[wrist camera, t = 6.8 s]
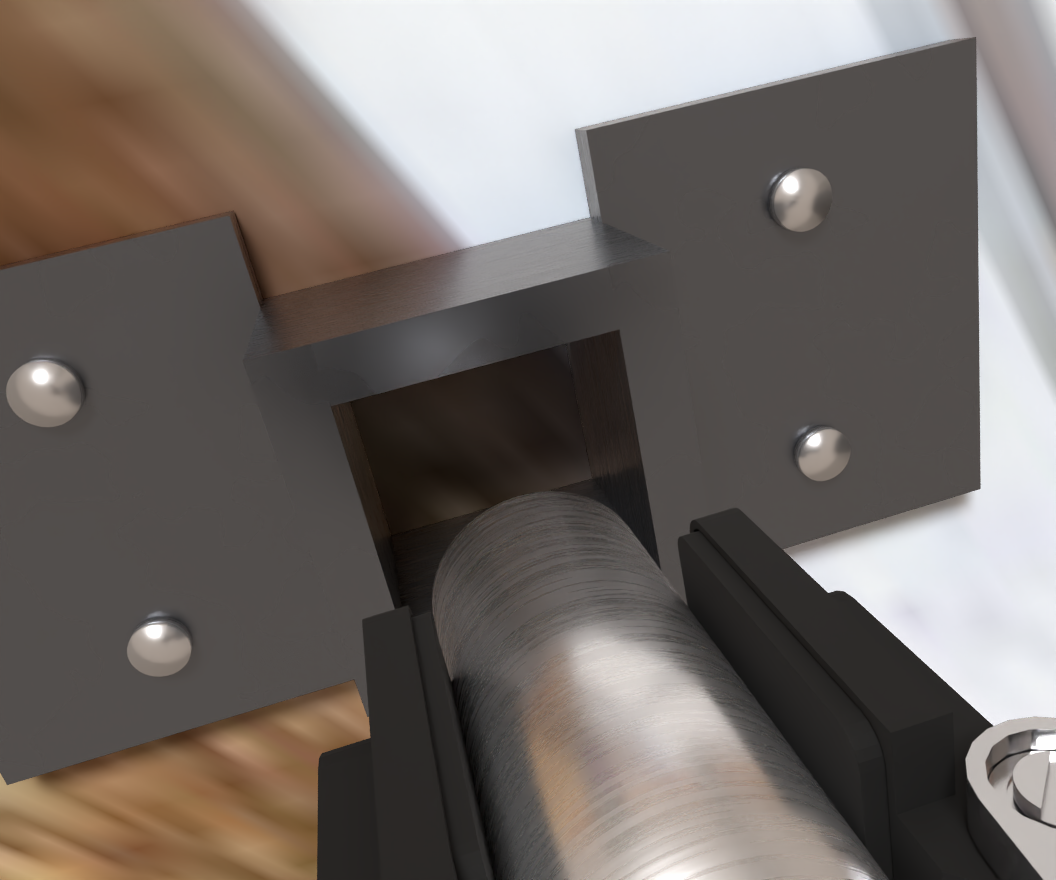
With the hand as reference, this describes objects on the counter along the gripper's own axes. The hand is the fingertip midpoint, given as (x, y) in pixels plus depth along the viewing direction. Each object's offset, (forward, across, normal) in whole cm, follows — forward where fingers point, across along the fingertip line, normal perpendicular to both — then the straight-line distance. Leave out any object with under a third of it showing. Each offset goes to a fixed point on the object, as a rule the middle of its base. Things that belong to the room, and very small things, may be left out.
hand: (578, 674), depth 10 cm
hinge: (+9, 0, 0) cm, 9 cm away
